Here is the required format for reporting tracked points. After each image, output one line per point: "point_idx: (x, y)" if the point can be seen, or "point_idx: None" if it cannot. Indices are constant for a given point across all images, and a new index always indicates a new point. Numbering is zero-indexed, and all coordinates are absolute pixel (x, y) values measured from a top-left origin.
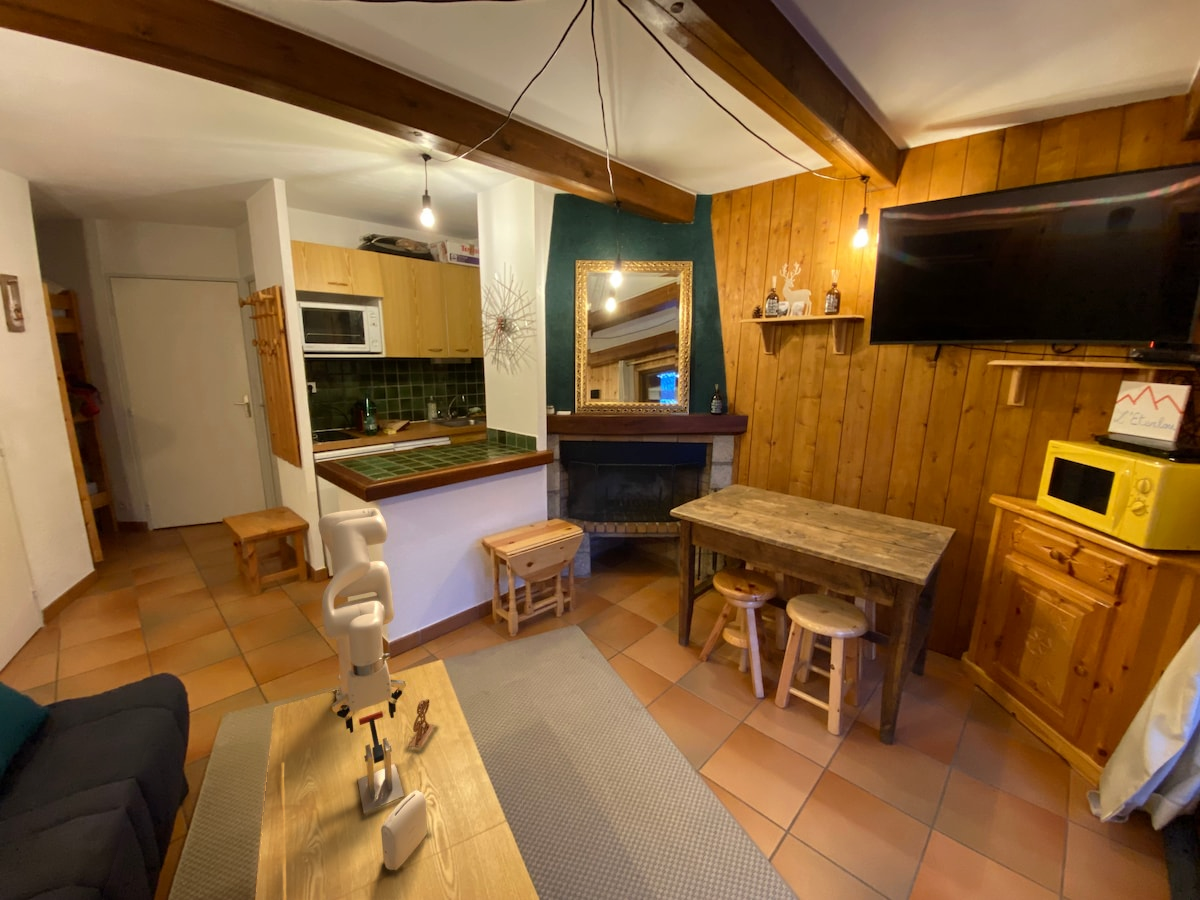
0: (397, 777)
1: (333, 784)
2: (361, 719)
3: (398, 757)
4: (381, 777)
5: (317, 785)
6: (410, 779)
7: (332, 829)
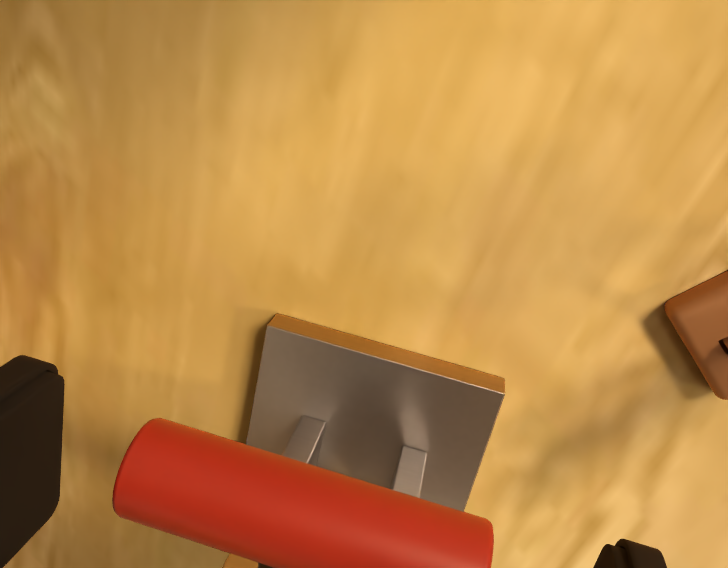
0: (460, 496)
1: (159, 208)
2: (140, 513)
3: (568, 316)
4: (387, 423)
5: (78, 139)
6: (525, 518)
7: (105, 471)
